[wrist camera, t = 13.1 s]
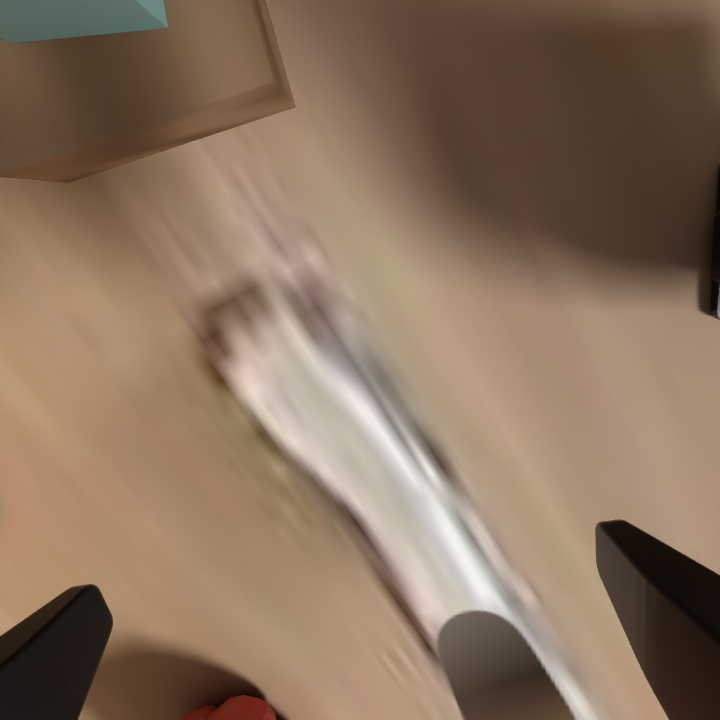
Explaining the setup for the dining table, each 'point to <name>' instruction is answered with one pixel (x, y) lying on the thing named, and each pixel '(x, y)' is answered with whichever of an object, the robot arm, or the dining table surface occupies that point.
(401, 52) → the dining table surface
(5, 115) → the walnut block
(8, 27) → the teal block
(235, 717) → the vegetable
